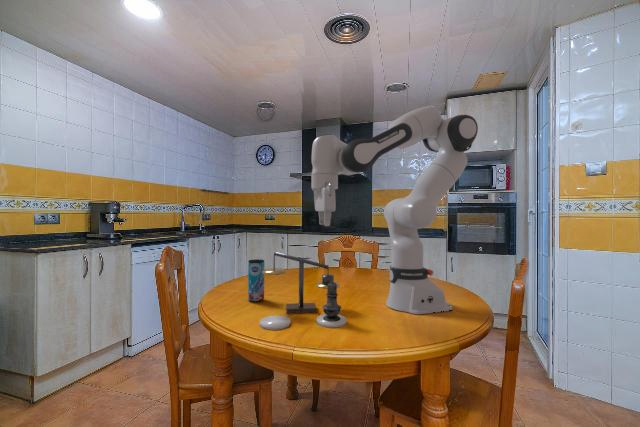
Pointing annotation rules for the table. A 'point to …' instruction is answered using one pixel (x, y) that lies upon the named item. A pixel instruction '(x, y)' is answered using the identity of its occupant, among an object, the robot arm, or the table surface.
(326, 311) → the chess piece
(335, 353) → the table surface
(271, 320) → the dish high side
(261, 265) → the beverage can
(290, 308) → the balance
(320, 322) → the dish low side
